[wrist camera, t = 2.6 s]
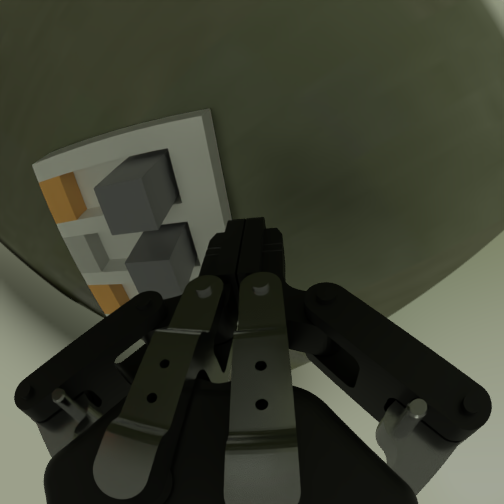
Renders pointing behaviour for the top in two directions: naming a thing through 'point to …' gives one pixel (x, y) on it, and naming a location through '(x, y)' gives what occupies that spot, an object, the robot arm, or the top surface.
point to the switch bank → (104, 162)
